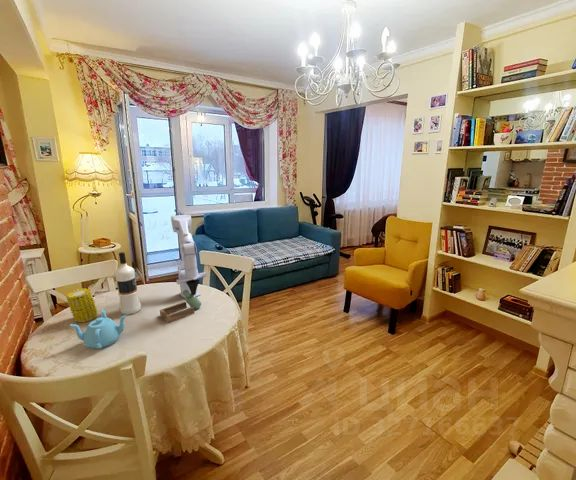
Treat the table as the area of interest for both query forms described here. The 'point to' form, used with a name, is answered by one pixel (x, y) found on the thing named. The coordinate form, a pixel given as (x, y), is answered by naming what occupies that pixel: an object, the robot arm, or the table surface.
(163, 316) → the u rest
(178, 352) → the table surface
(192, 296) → the green bottle
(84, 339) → the teapot
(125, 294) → the vodka
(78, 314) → the food
